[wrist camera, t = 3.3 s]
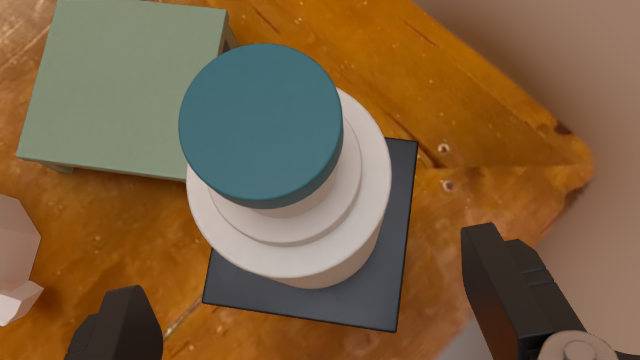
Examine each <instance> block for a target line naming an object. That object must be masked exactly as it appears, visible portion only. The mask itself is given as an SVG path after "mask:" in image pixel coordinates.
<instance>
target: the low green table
mask: <svg viewBox="0 0 640 360" xmlns="http://www.w3.org/2000/svg"><path fill="white" fill-rule="evenodd" d="M228 22H229V14H228V12H227V10H226V9H217V8H207V7H198V6H188V5H179V4H169V3H159V2H150V1H140V0H57V4H56V8H55V12H54V15H53V19H52V23H51V26H50V30H49V34H48V37H47V41H46V45H45V48H44V52H43V56H42V59H41V63H40V67H39V71H38V74H37V78H36V82H35V85H34V89H33V93H32V96H31V100H30V104H29V107H28V111H27V115H26V118H25V122H24V126H23V130H22V133H21V137H20V141H19V144H18V148H17V152H16V155H15V156H16V157H17V158H20V159H22V160H25V161H32V162H38V163H40V164H42V165H44V166H46V167H49V168H51V169H53V170H55V171H57V172H63V173H70V174H72V173H73V171H74V167H77V168H84V169H92V170H99V171H106V172H114V173H121V174H129V175H136V176H144V177H151V178H158V179H166V180H173V181H181V182H183V183H185V184H186V173H187V165H188V162H187V160H186V158H185V156H184V153H183V151H182V148H181V144H180V140H179V132H178V119H179V112H180V108H181V104H182V101H183V98H184V96H185V93H186V91H187V89H188V87H189V86H190V84H191V82H192V81H193V79H194V78H195V77H196V75H197V74H198V73H199V72H200V71H201V70H202V69H203V68H204V67H205V66H206V65H207V64H208V63H209V62H211V61H212V60H213V59H215V58H216V57H218V56H220V55H221V54H223V53H225V52H227V51H229V50H231V49H234V48H237V47H238V44H237V42H236V39H235V37H234V35H233V33H232V31H231V28H230V26H229V24H228Z"/></svg>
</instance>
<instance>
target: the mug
mask: <svg viewBox="0 0 640 360" xmlns="http://www.w3.org/2000/svg"><path fill="white" fill-rule="evenodd" d="M40 240H41V235H40V234H39V232H38V231H37V229H36V227H35V226H34V224H33V222H32V221H31V219H30V218H29V216H28V214H27V213H26V211H25V209H24V208H23V206H22V204H21V203H20V201H19V200H18V199H15V198H12V197H9V196H5V195H2V194H0V325H1V326H3V327H4V326H5V325H7V324H9V323H11V322H13V321H15V320H17V319H19V318H21V317H23V316H25V315H26V314H27V312H28V311H29V309H30V308H31V307H32V305H33V304H34V303H35V301H36V300H37V298H38V297H39V295H40V294H41V293H42V291H43V290H44V288H43V287H41V286H39V285H37V284H36V283H34V282H32V281H28V280H29V276H30V273H31V270H32V267H33V263H34V260H35V257H36V253H37V250H38V247H39V244H40Z"/></svg>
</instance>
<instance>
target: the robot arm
mask: <svg viewBox="0 0 640 360" xmlns="http://www.w3.org/2000/svg"><path fill="white" fill-rule="evenodd" d="M461 254H462V275H463V282H464V287H465V291H466V294H467V297H468V300H469V303H470V305H471V307H472V310H473V312H474V314H475V317H476V319H477V321H478V323H479V326H480V328H481V331H482V333H483V336H484V338H485V340H486V342H487V345H488V347H489V350H490V352H491V354H492V357H493V359H494V360H640V356H639V355H631V354H625V353H621V352H618V351H615V350H613V349H612V348H611V346H610V345H609V344H607V343H606V342H605V341H604V340H602V339H600V338H599V337H597V336H595V335H592V334H590V333H588V332H587V331H586V329H585V328H584V327H583V325H582V323H581V322H580V320H579V319H578V317H577V315H576V314H575V312H574V311H573V309H572V307H571V306H570V304H569V303H568V301H567V300H566V298H565V297H564V295H563V293H562V292H561V290H560V289H559V287H558V285H557V284H556V283H554V279H553V277H552V276H551V274H550V273H549V271H548V270H546V267H545V265H544V263H543V262H542V260H541V259H540V257H539V255H538V254H537V252H536V251H535V250H534V249H532V248H531V247H529V246H528V245H526V244H525V243H524V242H522V241H521V240H519V239H515V240H510V241H504V240H503V239H502V237H501V235H500V233H499V232H498V230H497V228H496V226H495V225H494V224H493V223H492V222H490V223H485V224H479V225H474V226H468V227H462V228H461ZM162 354H163V336H162V331H161V328H160V325H159V323H158V321H157V319H156V317H155V314H154V312H153V310H152V308H151V306H150V303H149V301H148V299H147V297H146V295H145V292H144V290H143V289H142V287H141V286H139V285H135V286H130V287H124V288H119V289H113V290H109V291H107V292H106V294H105V296H104V299H103V302H102V305H101V307H100V310H99V313H97V314H91V315H89V316H88V317H87V318H86V319H85V320H84V322H83V323H82V324H81V325H80V326H79V328H78V329H77V330H76V331H75V333H74V335H73V338H72V340H71V343H70V346H69V348H68V354H66V356H65V358H64V360H161V359H162Z"/></svg>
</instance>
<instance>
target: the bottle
mask: <svg viewBox="0 0 640 360" xmlns="http://www.w3.org/2000/svg"><path fill="white" fill-rule="evenodd" d="M178 132H179V140H180V144H181V148H182V151H183V153H184V156H185V158H186V160H187V162H188V165H187V173H186V189H187V196H188V202H189V206H190V209H191V213H192V215H193V218H194V220H195V222H196V225H197V226H198V228H199V230H200V231H201V233H202V235H203V236H204V238H205V239H206V240H207V241H208V243H209V244H210V245H211V246H212V247H213V248H214V249H215V250H216V251H217V252H218V253H219V254H220V255H221V256H222V257H224V258H225V259H227V260H228V261H229V262H231V263H232V264H234V265H236V266H238V267H240V268H242V269H244V270H246V271H249V272H251V273H254V274H257V275H260V276H263V277H266V278H269V279H272V280H275V281H278V282H281V283H284V284H287V285H290V286H294V287H298V288H305V289H319V288H325V287H329V286H332V285H335V284H338V283H340V282H342V281H344V280H346V279H347V278H349V277H350V276H352V275H353V274H354V273H356V272H357V271H358V270H359V269H360V268H361V267H362V266H363V265H364V263H365V262H366V261H367V259H368V258H369V256H370V255H371V253H372V251H373V249H374V247H375V244H376V241H377V238H378V234H379V231H380V228H381V224H382V221H383V217H384V214H385V211H386V207H387V204H388V200H389V195H390V190H391V179H392V171H391V160H390V155H389V151H388V147H387V144H386V141H385V139H384V136H383V134H382V132H381V130H380V128H379V126H378V124H377V123H376V122H375V120H374V119H373V117H372V116H371V115H370V113H369V112H368V111H367V110H366V109H365V108H364V107H363V106H362V105H361V104H360V103H359V102H358V101H356V100H355V99H354V98H353V97H352V96H350V95H348V94H347V93H345V92H344V91H342V90H340V89H338V88H336V87H335V85H334V83H333V81H332V80H331V78H330V77H329V75H328V74H327V72H326V71H325V70H324V69H323V68H322V67H321V66H320V65H319V64H318V63H317V62H316V61H314V60H313V59H312V58H310V57H309V56H307V55H306V54H304V53H302V52H300V51H298V50H295V49H293V48H290V47H287V46H283V45H278V44H270V43H258V44H249V45H244V46H240V47H237V48H234V49H231V50H229V51H227V52H225V53H223V54H221V55H220V56H218V57H216V58H215V59H213V60H212V61H211V62H209V63H208V64H207V65H206V66H205V67H204V68H203V69H202V70H201V71H200V72H199V73H198V74H197V75H196V77H195V78H194V79H193V81H192V82H191V84H190V86H189V87H188V89H187V91H186V93H185V96H184V98H183V101H182V104H181V108H180V112H179V119H178Z"/></svg>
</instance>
